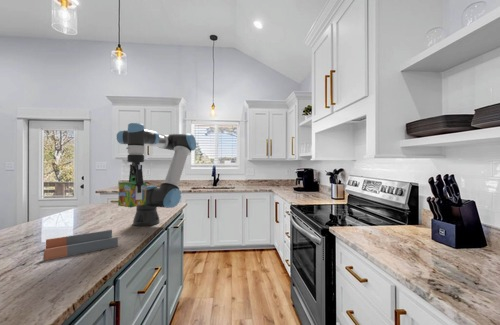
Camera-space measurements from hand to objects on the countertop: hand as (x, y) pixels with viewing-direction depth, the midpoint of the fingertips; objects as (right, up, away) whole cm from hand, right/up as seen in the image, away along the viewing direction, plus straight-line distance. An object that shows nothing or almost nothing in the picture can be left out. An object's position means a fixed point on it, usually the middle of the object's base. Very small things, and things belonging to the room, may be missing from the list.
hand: (135, 198), depth 118 cm
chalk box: (-1, -4, -1) cm, 4 cm away
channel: (-17, -20, -14) cm, 30 cm away
